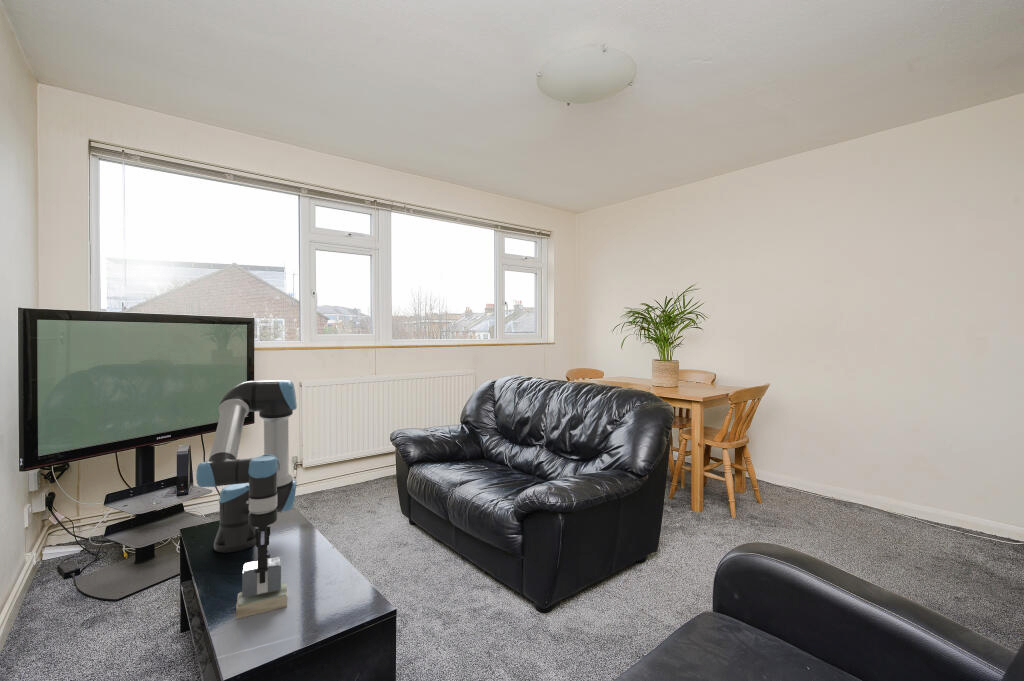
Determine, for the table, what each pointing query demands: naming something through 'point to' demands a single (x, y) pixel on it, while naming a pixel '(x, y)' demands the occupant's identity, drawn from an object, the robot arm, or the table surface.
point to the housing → (251, 577)
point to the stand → (261, 602)
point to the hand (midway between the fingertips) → (262, 586)
